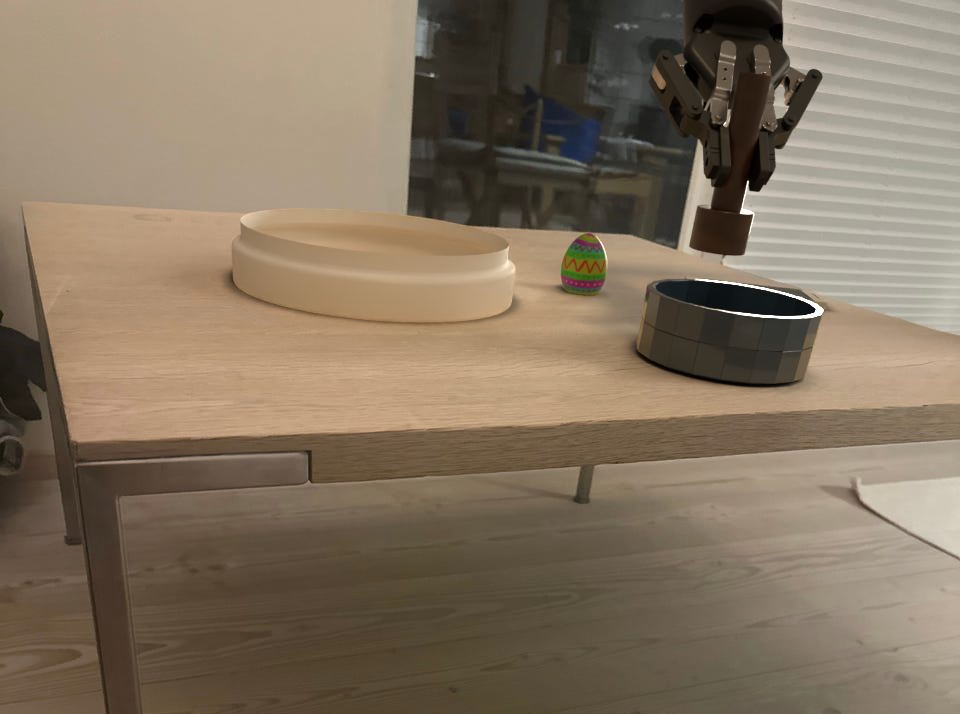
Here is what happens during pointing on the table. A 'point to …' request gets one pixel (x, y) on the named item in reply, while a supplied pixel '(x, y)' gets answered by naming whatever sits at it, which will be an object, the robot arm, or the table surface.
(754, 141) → the muddler
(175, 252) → the table surface
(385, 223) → the cream round tray
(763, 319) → the bowl
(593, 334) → the table surface
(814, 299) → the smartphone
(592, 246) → the egg
